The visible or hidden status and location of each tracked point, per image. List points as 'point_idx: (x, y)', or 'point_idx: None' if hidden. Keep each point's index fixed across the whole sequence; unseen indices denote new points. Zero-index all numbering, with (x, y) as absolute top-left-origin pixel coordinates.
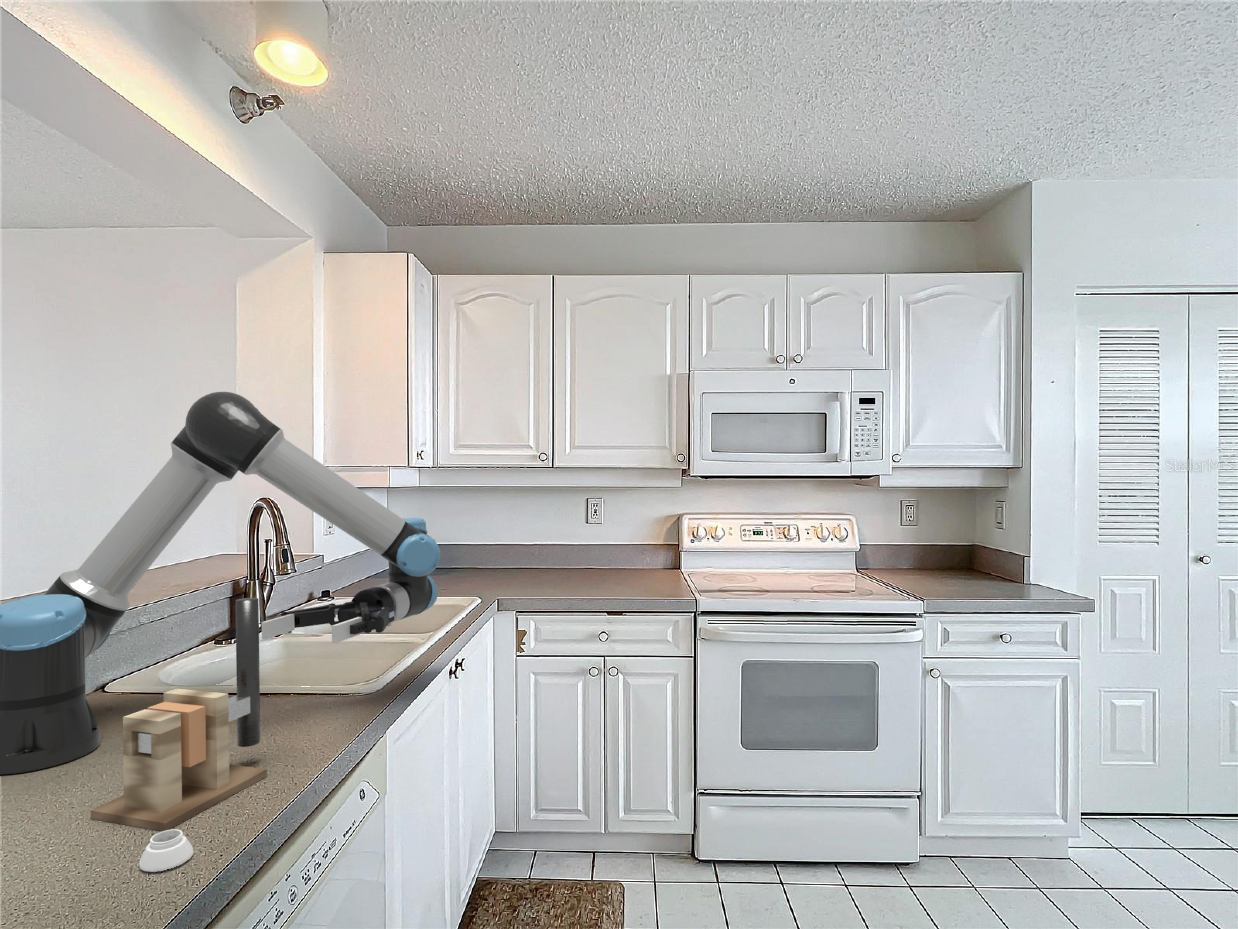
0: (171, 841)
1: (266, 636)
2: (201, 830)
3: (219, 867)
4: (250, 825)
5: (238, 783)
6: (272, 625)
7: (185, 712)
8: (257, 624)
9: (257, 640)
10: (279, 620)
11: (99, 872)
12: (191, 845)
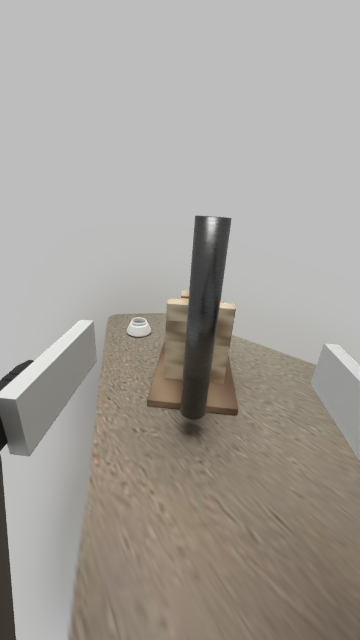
0: (133, 319)
1: (313, 380)
2: (142, 348)
3: (107, 330)
4: (113, 353)
5: (155, 377)
6: (333, 373)
7: (181, 298)
8: (192, 260)
9: (190, 286)
10: (354, 385)
11: (165, 327)
12: (131, 333)
